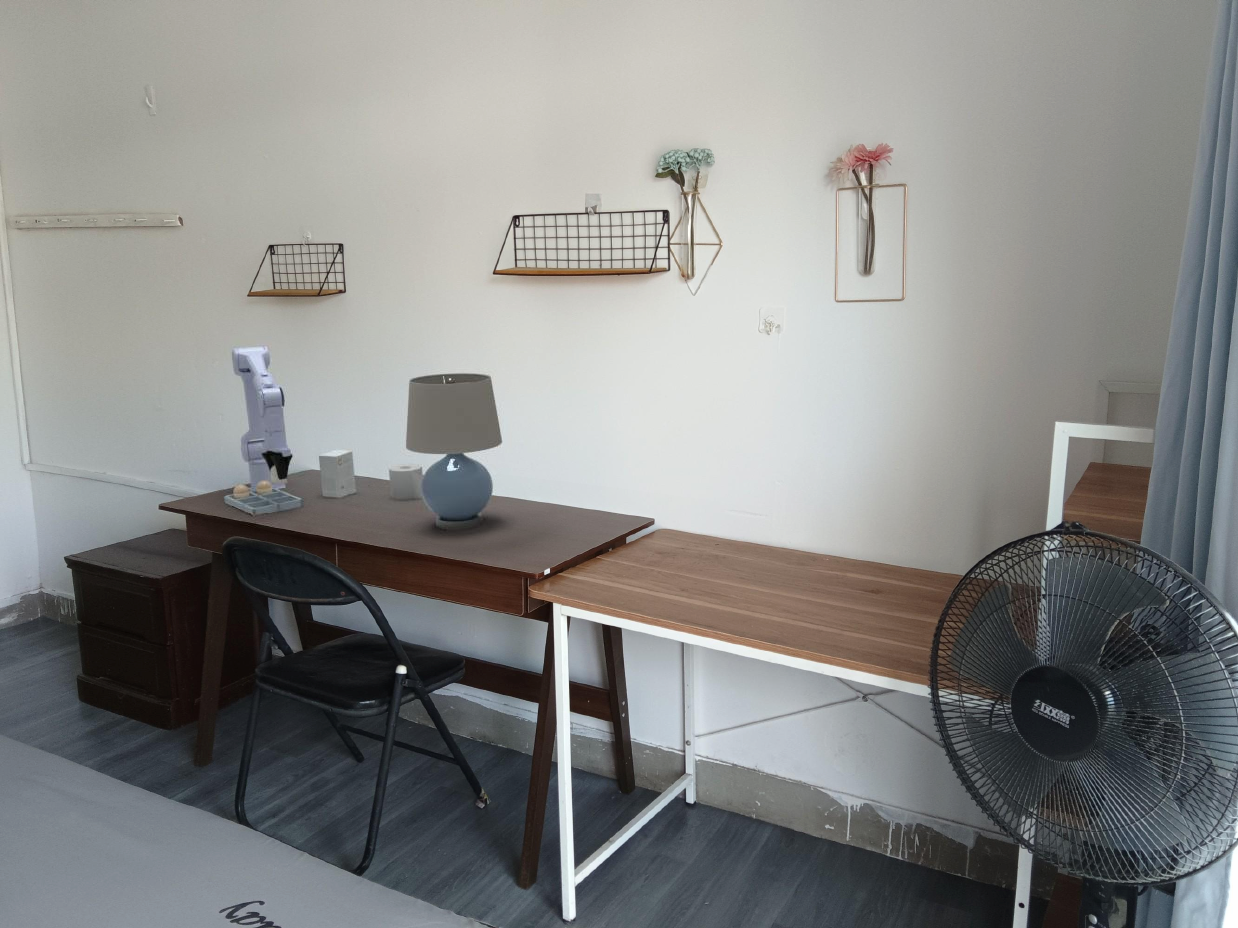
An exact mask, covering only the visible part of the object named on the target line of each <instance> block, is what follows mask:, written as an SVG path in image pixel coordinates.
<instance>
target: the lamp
mask: <svg viewBox="0 0 1238 928" xmlns="http://www.w3.org/2000/svg"><path fill="white" fill-rule="evenodd" d="M493 388H494V387H493V382H492V376H491V375H489V374H485V373H484V374H483V373H472V372H470V373H466V372H465V373H464V372H461V373H460V372H459V373H458V372H457V373H440V374H439V373H437V374H428V375H422V376H417V377H413V378H410V379H409V382H408V400H407V415H406V416H407V418H406V436H405V437H406V439H405V448H406V450H407V451H410V452H413V453H418V454H419V453H420V454H425V455H427V454H429V455H445V456H444V457H443V458H441V459H439V460H438V461H435V462H434V463H433V464H432V465H430V466H429V467H428V468H427V470H426V471H425V472H424V474H423V475H424V476H423V479H422V483H421V493H422V497H423V498H422V499H423V502H424V503H425V505H426V507H427V508H428V509H429V510H430V511H431V512H432V513H433V514H434V515H435V525H436V527H437V528H438V529H440V528H441V529H440V530H444V529H446V531H465V530H469V529H474V528H477V527H479V526H481V525H482V524H483V515H482V511H483V510H485V508H486V507H487V506H488V504H489V503H490V501H491V498H492V495H493V491H494V490H493V489H494V487H493V486H494V482H493V479H492V475H491V473H490V472H489V471H488V468H487V467H486V466H485V465H484V464H483V463H481V462H480V461H477V460H476V459H474V458H472V457H469V456H467V455H466V454H467V453H476V452H481V451H486V450H487V451H488V450H489V449H494V448H496V447H498V446H500V445H502V443H503V440H502V439H503V438H502V434H501V428H500V422H499V417H498V416H499V415H498V410H497V405H496V398H495V394H494V389H493Z"/></svg>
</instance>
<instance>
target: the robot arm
mask: <svg viewBox="0 0 1238 928" xmlns="http://www.w3.org/2000/svg"><path fill="white" fill-rule="evenodd" d="M231 361H232V368H233V373H234V375H235V376H238V377H240V378H241V381H242V383H243V391H244V397H245V406H246V414H247V420H248V429H249V430H247V431H246V432H245V433H244V434H243V435H242V436H241V437H240V438H241V439H240V443H241V445H240V451H241V455H242V456H241V457H242V460H243V461H244V462H245V463H248V472H249V481H250V487H248V489H249V491H253V490H257V484H258V483H259V482H260V481H263V480H266V481H268V482H270V483H271V485H272V487H274V488H276V489H278V490H281V489H284V488H287V486H286V483H284V484H272V482H271V473H270V471H271V468H272V467H273V466H274V465H275V467H276V471H277V475H278V478H279V480H282V479H287V480H288V473H289V466H290V464H291V460H292V459H293V453H291V451H292V450H291V448H290V447H289V445H288V443H287V435H286V434H287V433H286V425H285V417H284V407H285V403H286V402H285V401H286V400H285V393H284V389H283V387H282V386H280V385H278V384H277V381H276V380H275V378H274V376H273V374H272V373H270V372H268V371H267V370H268V368H269V367H270V364H271V357H270V351H269V348H268V347H267V346H266V345H263V346H254V347H253V346H251V347H238V348H237V347H234V348H233V349H232V350H231Z"/></svg>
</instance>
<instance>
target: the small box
mask: <svg viewBox="0 0 1238 928" xmlns="http://www.w3.org/2000/svg"><path fill="white" fill-rule="evenodd" d="M353 457H354V455H353V451H352V450H345V449H343V450H342V449H334V450H332V451H328V452H326V453H322V454H319V455H318V461H319V469H320V471H319V472H320V479H321V481H320V482H321V491H322V497H325V498H326V497H328V498H337V499H340V498H344V497H345V496H348V495H350V494H351V495H353V494H356V493H357V488H356V486H357V485H356V478H355V467H354V466H355V465H354V458H353Z"/></svg>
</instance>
